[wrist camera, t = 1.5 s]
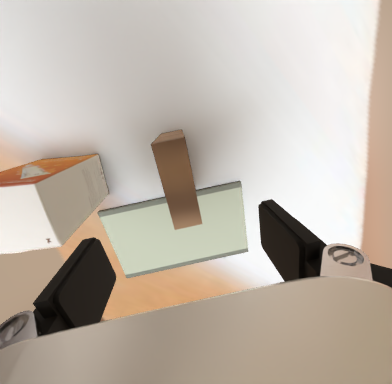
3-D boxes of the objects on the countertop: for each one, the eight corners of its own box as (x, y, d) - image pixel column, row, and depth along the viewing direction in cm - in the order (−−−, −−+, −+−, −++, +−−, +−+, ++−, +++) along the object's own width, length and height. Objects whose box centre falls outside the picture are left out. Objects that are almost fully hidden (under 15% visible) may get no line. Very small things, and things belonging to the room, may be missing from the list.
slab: (160, 133, 26) (150, 144, 16) (181, 129, 27) (184, 137, 16) (175, 191, 30) (174, 230, 20) (193, 187, 30) (202, 224, 20)
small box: (99, 152, 27) (35, 182, 15) (110, 194, 29) (63, 248, 17) (39, 158, 26) (-78, 193, 14) (55, 199, 28) (-33, 260, 16)
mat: (99, 211, 30) (97, 212, 29) (239, 180, 30) (241, 182, 30) (127, 275, 35) (126, 278, 35) (246, 249, 36) (248, 251, 35)
